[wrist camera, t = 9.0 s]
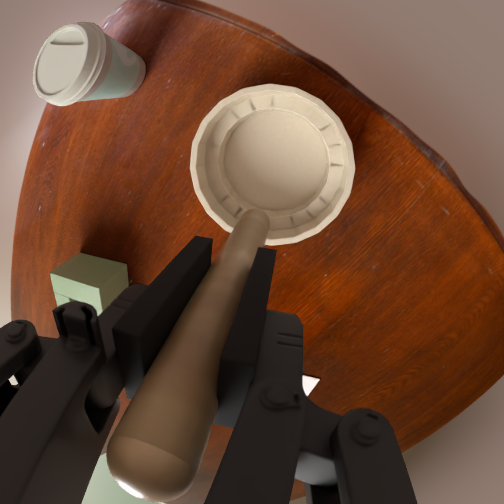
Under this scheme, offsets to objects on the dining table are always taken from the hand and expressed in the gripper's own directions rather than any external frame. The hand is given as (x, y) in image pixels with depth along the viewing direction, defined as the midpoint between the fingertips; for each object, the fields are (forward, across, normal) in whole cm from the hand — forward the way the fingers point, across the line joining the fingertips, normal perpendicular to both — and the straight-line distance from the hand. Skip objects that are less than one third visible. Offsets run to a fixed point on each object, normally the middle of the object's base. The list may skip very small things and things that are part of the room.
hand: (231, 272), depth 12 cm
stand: (+20, -22, -17) cm, 34 cm away
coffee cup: (+20, -19, +12) cm, 30 cm away
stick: (+8, 0, 0) cm, 8 cm away
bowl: (+20, 0, +3) cm, 20 cm away
